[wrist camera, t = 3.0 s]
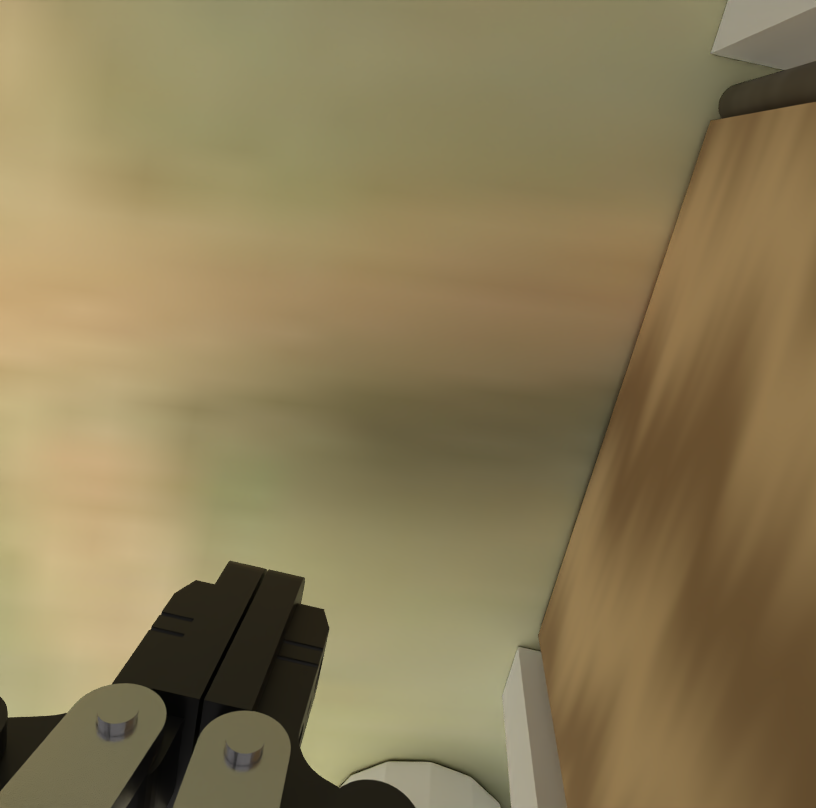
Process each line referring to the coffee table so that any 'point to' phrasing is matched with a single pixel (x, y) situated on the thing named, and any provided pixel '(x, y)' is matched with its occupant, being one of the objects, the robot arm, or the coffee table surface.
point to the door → (706, 500)
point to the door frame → (526, 685)
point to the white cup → (430, 785)
